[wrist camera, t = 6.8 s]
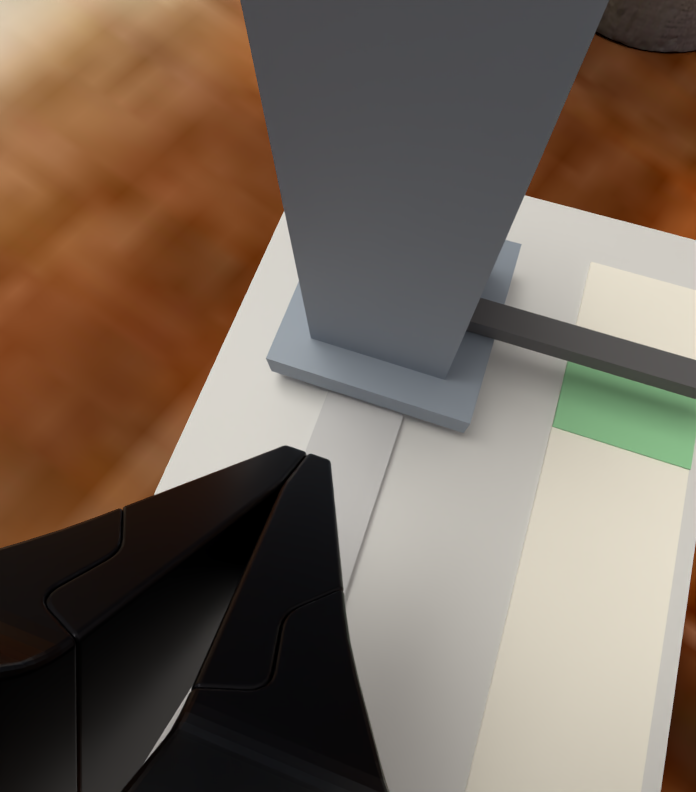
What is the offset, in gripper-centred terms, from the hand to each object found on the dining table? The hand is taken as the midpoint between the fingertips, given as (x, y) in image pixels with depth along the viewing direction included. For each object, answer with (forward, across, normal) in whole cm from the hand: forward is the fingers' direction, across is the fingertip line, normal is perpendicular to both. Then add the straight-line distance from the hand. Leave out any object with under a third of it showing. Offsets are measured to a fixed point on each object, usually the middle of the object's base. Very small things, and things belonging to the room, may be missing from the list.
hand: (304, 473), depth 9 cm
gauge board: (+6, -2, +5) cm, 8 cm away
